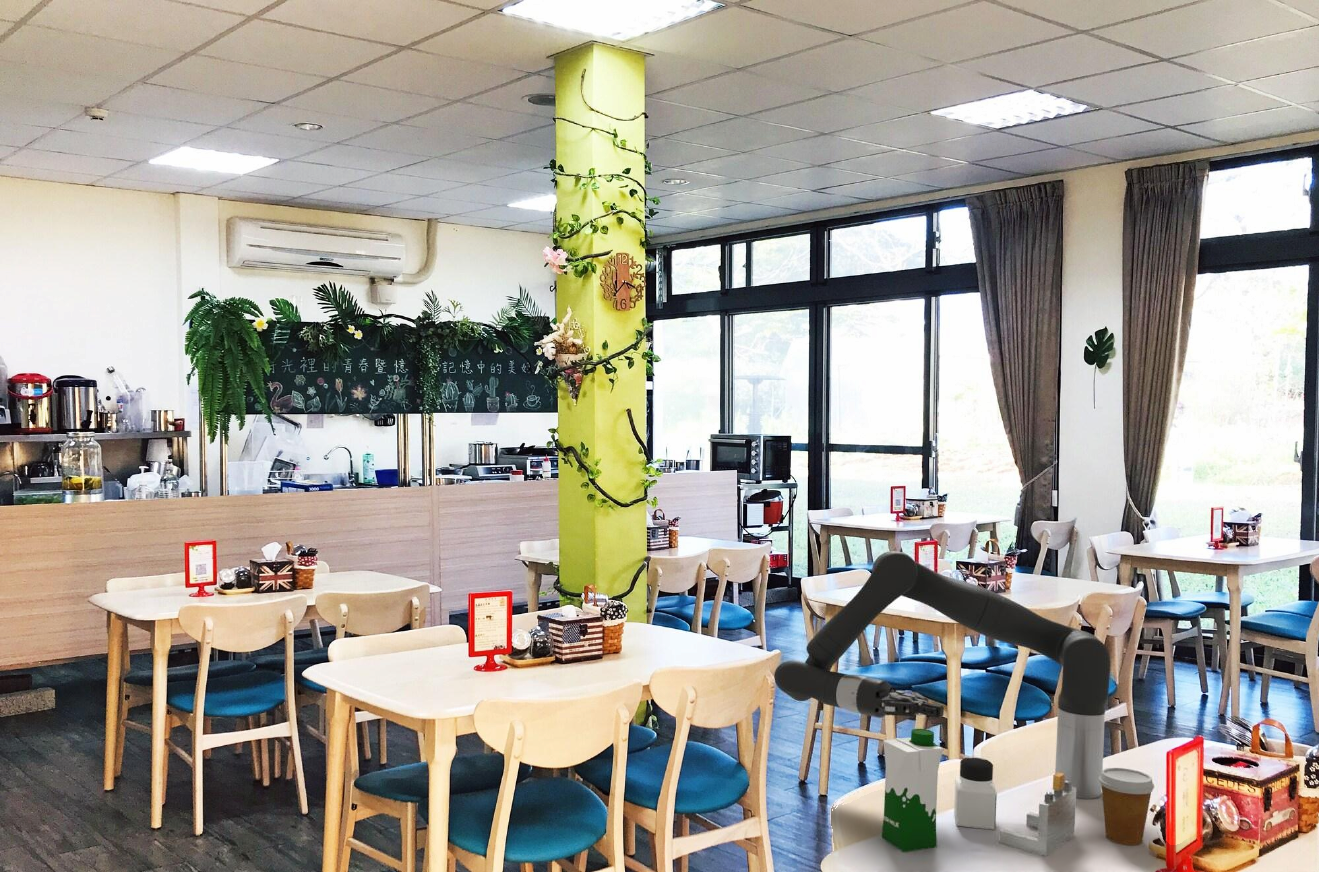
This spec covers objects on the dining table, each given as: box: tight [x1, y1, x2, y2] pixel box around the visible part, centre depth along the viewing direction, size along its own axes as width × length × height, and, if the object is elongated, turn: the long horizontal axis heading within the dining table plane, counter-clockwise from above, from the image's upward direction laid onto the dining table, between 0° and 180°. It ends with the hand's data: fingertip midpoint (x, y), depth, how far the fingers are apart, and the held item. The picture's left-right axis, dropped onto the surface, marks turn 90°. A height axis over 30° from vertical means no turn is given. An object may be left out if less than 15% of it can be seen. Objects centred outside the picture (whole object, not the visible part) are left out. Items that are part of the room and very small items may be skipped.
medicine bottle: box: [953, 756, 998, 831], centre depth 215 cm, size 7×7×12 cm
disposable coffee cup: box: [1099, 767, 1155, 846], centre depth 209 cm, size 10×10×12 cm
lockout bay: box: [999, 772, 1077, 857], centre depth 207 cm, size 14×9×13 cm, turn 140°
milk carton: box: [881, 728, 944, 853], centre depth 203 cm, size 9×9×20 cm
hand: (941, 712), depth 219 cm, fingers closed
